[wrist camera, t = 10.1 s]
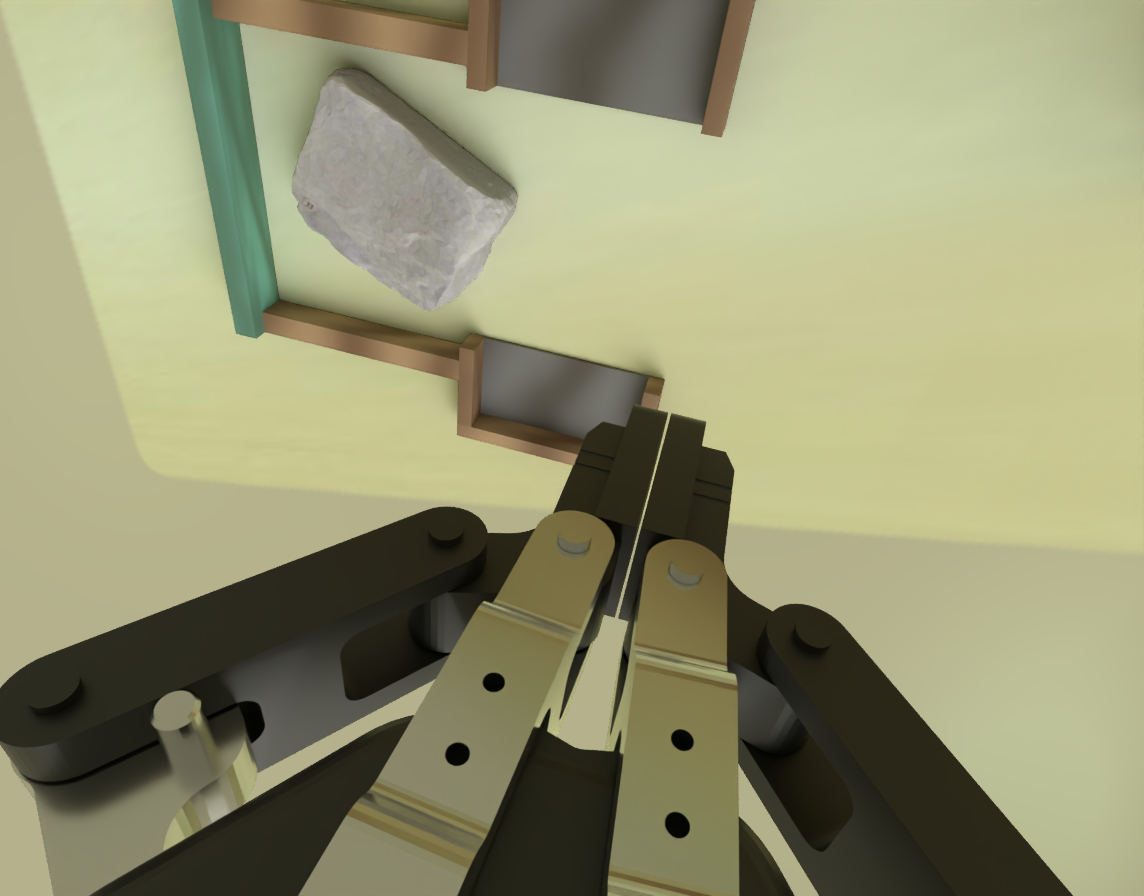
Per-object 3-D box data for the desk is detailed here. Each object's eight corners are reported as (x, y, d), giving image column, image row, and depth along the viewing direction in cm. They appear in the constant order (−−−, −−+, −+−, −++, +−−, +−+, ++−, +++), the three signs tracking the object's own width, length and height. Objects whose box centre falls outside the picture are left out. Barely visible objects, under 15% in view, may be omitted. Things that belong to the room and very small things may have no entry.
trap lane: (764, -40, 31) (762, -38, 29) (644, 465, 49) (636, 491, 46) (189, -132, 35) (145, -137, 32) (271, 369, 52) (246, 389, 50)
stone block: (471, 297, 47) (536, 185, 39) (434, 337, 44) (497, 223, 36) (321, 183, 45) (359, 43, 38) (272, 216, 42) (302, 71, 35)
